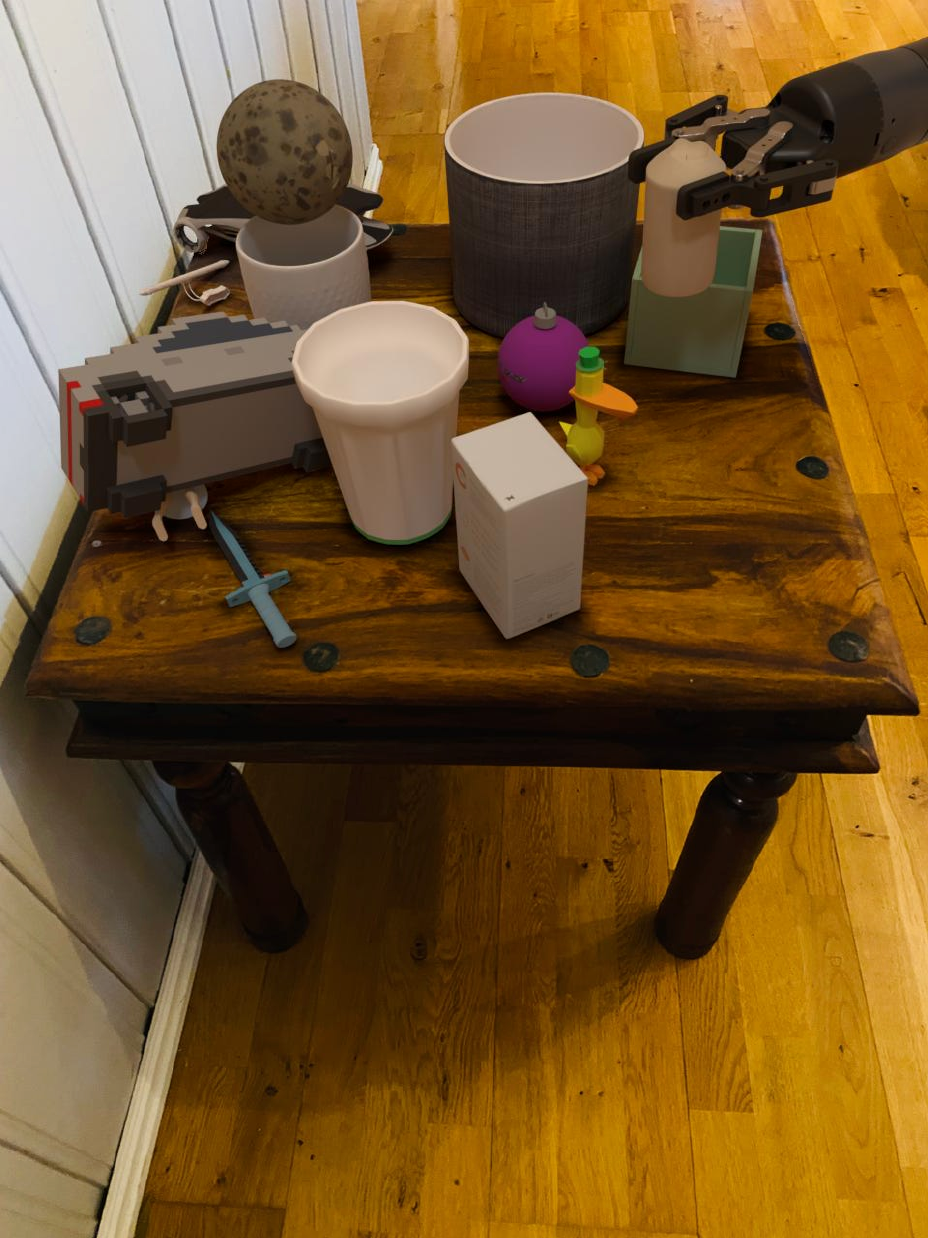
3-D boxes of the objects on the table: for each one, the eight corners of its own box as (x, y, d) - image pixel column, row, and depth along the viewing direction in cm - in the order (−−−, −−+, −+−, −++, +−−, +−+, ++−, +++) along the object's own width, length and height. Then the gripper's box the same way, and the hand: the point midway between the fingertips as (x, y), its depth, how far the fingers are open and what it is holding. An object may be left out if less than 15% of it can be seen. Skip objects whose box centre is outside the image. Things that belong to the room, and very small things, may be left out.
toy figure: (637, 480, 82) (651, 358, 72) (614, 505, 80) (626, 383, 71) (568, 450, 84) (573, 329, 75) (545, 474, 83) (547, 352, 73)
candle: (652, 303, 74) (659, 172, 66) (632, 264, 77) (637, 136, 70) (723, 290, 74) (740, 158, 66) (701, 252, 78) (713, 123, 70)
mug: (312, 299, 101) (289, 173, 91) (412, 316, 98) (400, 187, 88) (244, 386, 92) (210, 257, 82) (352, 407, 89) (330, 276, 79)
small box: (582, 610, 73) (591, 478, 63) (505, 642, 71) (503, 511, 61) (529, 541, 78) (531, 408, 68) (457, 569, 76) (447, 437, 66)
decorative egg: (350, 253, 80) (302, 225, 92) (389, 113, 77) (334, 103, 89) (220, 210, 75) (187, 187, 87) (255, 57, 71) (216, 55, 83)
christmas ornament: (598, 424, 86) (605, 325, 79) (506, 436, 86) (504, 337, 78) (578, 368, 92) (583, 270, 84) (491, 379, 91) (488, 282, 84)
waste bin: (745, 314, 96) (762, 229, 89) (735, 377, 90) (753, 291, 83) (640, 303, 98) (649, 219, 91) (623, 364, 92) (631, 278, 85)
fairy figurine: (261, 528, 78) (249, 461, 87) (241, 476, 75) (230, 412, 84) (118, 573, 77) (121, 500, 86) (92, 522, 74) (98, 452, 83)
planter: (417, 307, 99) (403, 150, 87) (519, 230, 108) (518, 77, 96) (566, 366, 92) (573, 203, 80) (662, 278, 101) (681, 119, 89)
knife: (179, 515, 81) (236, 492, 82) (183, 526, 81) (239, 503, 83) (256, 649, 70) (320, 620, 71) (259, 660, 71) (323, 631, 72)
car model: (159, 222, 105) (176, 267, 109) (355, 231, 96) (366, 280, 99) (218, 178, 112) (231, 222, 115) (406, 183, 102) (415, 230, 106)
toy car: (388, 371, 79) (324, 296, 83) (96, 429, 66) (38, 337, 70) (364, 458, 85) (306, 385, 89) (96, 525, 72) (42, 436, 76)
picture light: (137, 288, 96) (135, 309, 97) (173, 308, 95) (171, 328, 96) (226, 256, 106) (224, 275, 108) (259, 273, 105) (256, 292, 107)
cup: (507, 522, 79) (504, 361, 67) (370, 588, 75) (342, 429, 63) (427, 439, 86) (412, 280, 74) (299, 495, 82) (261, 337, 70)
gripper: (795, 30, 74) (601, 94, 70) (935, 98, 65) (721, 175, 62) (780, 131, 80) (599, 195, 76) (906, 206, 71) (709, 282, 68)
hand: (655, 186), depth 69 cm, fingers closed on candle, 5 cm apart
